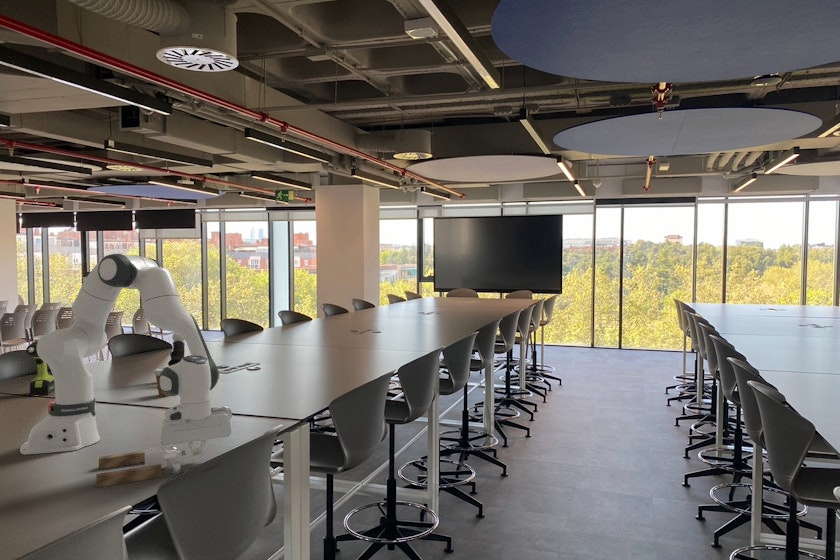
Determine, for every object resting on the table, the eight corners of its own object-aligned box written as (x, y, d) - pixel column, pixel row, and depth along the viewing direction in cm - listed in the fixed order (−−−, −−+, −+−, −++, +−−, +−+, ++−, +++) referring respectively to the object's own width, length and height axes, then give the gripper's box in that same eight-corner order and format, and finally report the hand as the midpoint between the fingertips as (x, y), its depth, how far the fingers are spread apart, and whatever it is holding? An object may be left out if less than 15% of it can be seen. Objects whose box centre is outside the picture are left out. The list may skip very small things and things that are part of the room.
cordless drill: (40, 401, 248) (38, 344, 247) (21, 402, 245) (19, 344, 245) (55, 389, 270) (54, 337, 269) (38, 390, 267) (37, 338, 267)
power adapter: (185, 461, 173) (184, 442, 173) (186, 466, 168) (186, 446, 168) (144, 467, 168) (144, 447, 167) (145, 472, 163) (144, 452, 163)
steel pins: (173, 475, 161) (172, 464, 161) (169, 456, 176) (169, 447, 176) (180, 473, 162) (180, 463, 162) (176, 455, 177) (176, 446, 177)
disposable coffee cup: (169, 398, 252) (168, 371, 252) (150, 397, 254) (149, 370, 254) (182, 393, 262) (181, 367, 261) (163, 392, 264) (163, 366, 263)
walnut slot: (96, 487, 153) (96, 476, 153) (99, 467, 168) (99, 457, 168) (161, 476, 160) (161, 466, 160) (158, 458, 175) (158, 448, 175)
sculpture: (196, 376, 299) (196, 329, 299) (191, 386, 277) (191, 335, 276) (165, 378, 295) (164, 330, 294) (157, 388, 273) (157, 336, 272)
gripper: (230, 403, 179) (230, 446, 180) (158, 411, 170) (159, 456, 170) (233, 408, 174) (233, 452, 174) (160, 416, 164) (160, 463, 165)
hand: (196, 454), depth 172 cm, fingers closed
